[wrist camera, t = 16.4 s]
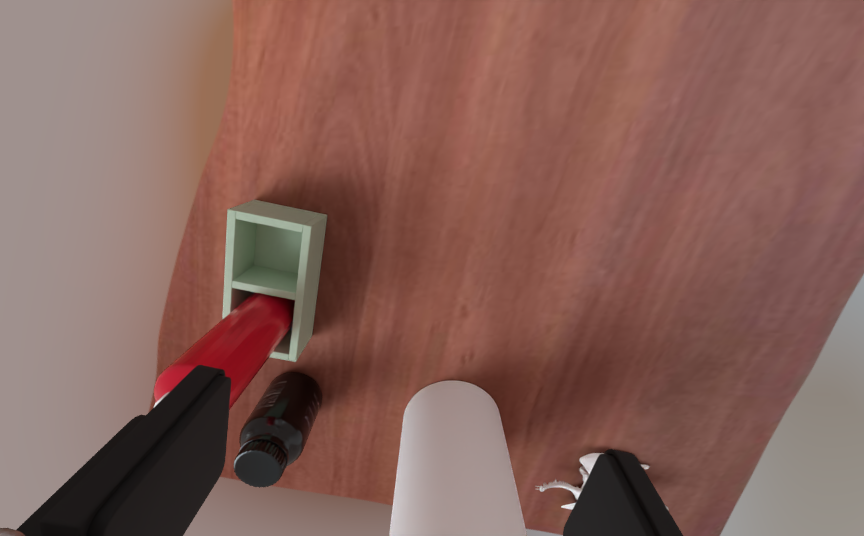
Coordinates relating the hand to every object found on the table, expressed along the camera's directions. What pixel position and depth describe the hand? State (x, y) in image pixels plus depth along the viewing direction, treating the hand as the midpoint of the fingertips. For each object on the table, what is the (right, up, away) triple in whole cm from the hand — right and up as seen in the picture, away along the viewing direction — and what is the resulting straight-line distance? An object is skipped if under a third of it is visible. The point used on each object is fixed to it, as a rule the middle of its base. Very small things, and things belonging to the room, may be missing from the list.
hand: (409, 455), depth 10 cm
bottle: (-17, +1, +36) cm, 40 cm away
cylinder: (+3, -15, +42) cm, 45 cm away
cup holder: (-16, +4, +35) cm, 39 cm away
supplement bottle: (-16, -11, +41) cm, 45 cm away
